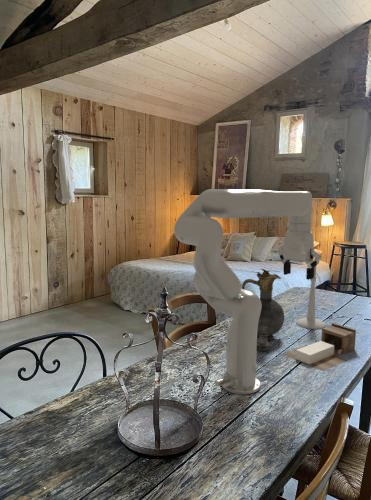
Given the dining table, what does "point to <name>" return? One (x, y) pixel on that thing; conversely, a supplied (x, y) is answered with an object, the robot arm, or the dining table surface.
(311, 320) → the candlestick
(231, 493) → the dining table surface
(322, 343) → the soap bar
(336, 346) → the open wooden box
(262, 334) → the salt shaker
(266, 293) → the pitcher
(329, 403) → the dining table surface
